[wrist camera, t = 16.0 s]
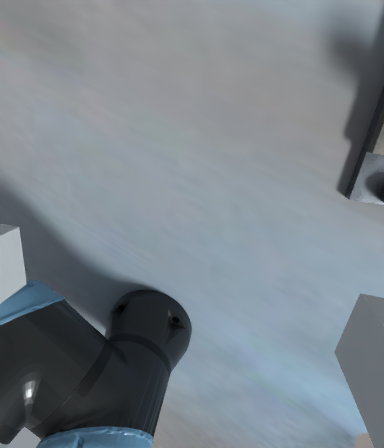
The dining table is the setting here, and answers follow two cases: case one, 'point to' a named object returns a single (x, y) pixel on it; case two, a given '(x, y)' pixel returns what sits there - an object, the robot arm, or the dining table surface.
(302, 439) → the dining table surface
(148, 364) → the robot arm
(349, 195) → the toggle switch plate
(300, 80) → the dining table surface
